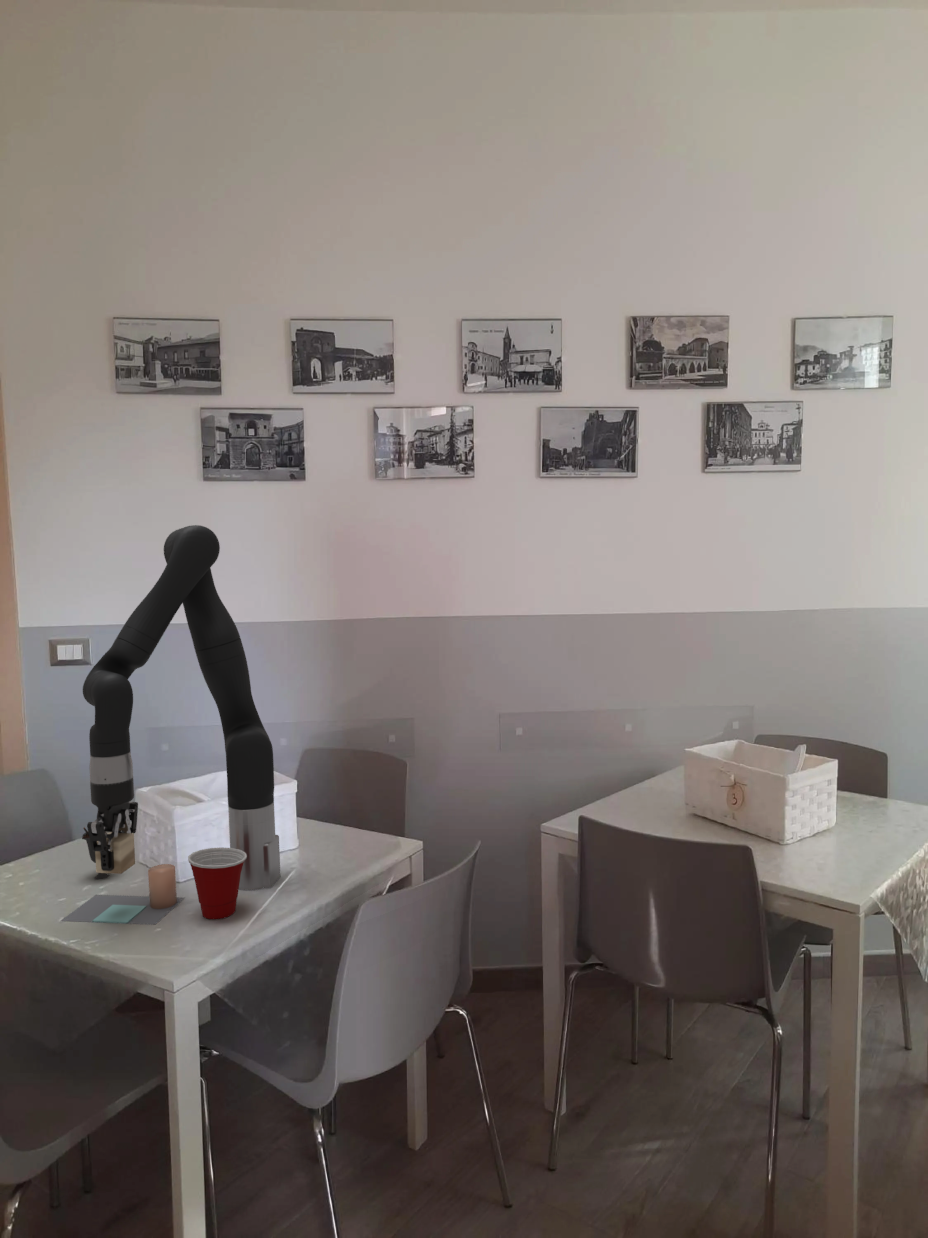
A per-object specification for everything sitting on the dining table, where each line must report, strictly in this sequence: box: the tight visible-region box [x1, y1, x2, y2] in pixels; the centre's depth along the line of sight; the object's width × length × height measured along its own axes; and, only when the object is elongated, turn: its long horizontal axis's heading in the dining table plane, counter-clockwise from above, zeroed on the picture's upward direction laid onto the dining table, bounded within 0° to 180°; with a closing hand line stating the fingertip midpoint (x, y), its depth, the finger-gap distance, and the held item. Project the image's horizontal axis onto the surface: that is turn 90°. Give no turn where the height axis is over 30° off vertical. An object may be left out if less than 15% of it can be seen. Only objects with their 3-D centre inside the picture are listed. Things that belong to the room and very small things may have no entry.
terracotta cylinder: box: [147, 863, 178, 909], centre depth 164 cm, size 5×5×7 cm
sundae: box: [81, 826, 112, 880], centre depth 178 cm, size 7×7×15 cm
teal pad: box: [91, 905, 146, 924], centre depth 160 cm, size 7×7×1 cm
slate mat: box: [60, 894, 185, 926], centre depth 163 cm, size 19×12×1 cm, turn 83°
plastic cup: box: [187, 847, 247, 920], centre depth 159 cm, size 11×11×12 cm
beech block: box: [95, 833, 136, 875], centre depth 159 cm, size 5×5×6 cm
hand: (116, 864), depth 159 cm, fingers closed on beech block, 5 cm apart
